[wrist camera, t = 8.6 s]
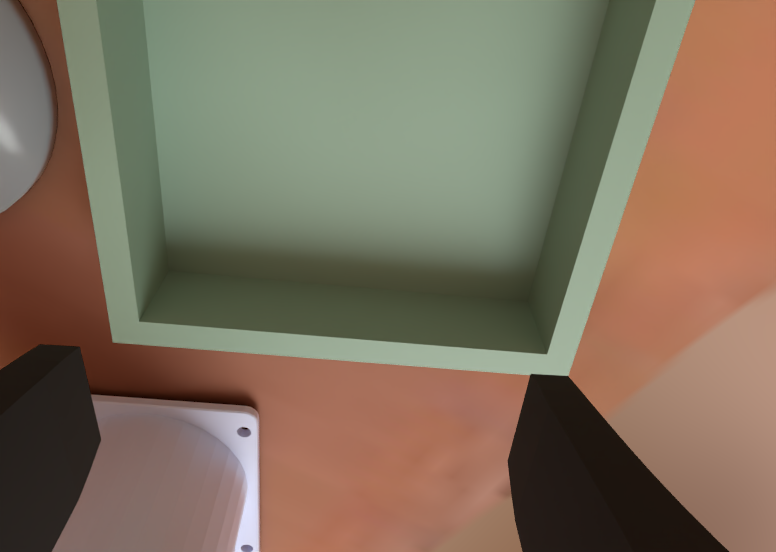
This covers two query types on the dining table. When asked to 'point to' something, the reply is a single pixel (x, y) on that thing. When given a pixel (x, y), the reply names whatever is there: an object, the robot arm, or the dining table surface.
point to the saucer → (23, 105)
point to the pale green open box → (364, 170)
